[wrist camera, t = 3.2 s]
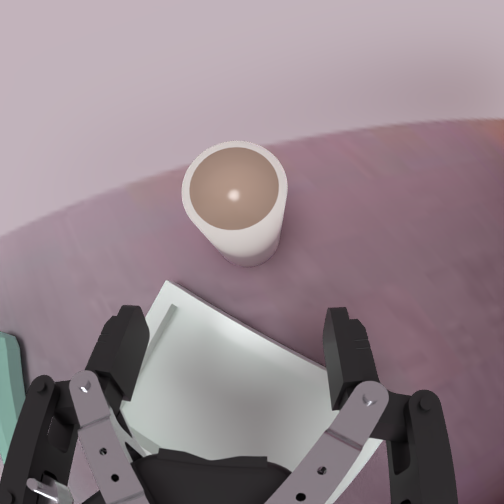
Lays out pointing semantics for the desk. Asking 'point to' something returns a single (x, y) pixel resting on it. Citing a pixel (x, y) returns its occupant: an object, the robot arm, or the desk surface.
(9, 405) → the green faceted rod
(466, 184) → the desk surface
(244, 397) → the tray
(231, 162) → the cup
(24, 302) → the desk surface
